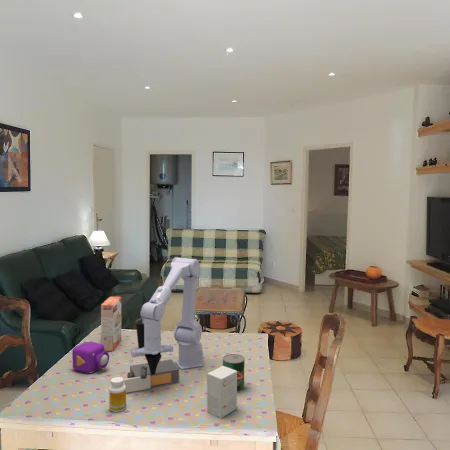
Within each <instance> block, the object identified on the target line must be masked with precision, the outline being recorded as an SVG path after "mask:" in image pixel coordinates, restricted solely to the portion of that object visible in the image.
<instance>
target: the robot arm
mask: <svg viewBox="0 0 450 450" xmlns="http://www.w3.org/2000/svg"><path fill="white" fill-rule="evenodd" d="M200 267H201V264H200V262H199V260H198V259H197V258H188V257H187V258H185V257H178V256H175V257H174V258H173V259H172V261H171V263H170V270H169V271H170V272H169V273H168V274H167V277H166V279H165V281H164V282H163V284H162V285H161V286H158V287H157V288H156V290H155V292H154V293H153V295H152V296H151V297H150V300H149V301H148V302H145V303H144V304H143V305H142V306H141V309H140V312H139V313H140V316H141V318H142V319H143V323H144V347H143V348H140V349H138V348H137V349H133V350H131V358H133V359H134V358H136V357H141V356H144V357H145V360H146V363H148V365H149V369H150V373H151V375H154V374H155V372H156V368H157V365H158V363H159V361H161V359H162V353H163V354H164V353H169V352H170V353H173V352H174V346H173V344H165V345H164V344H161V343H162V341H161V339H162V337H161V336H162V335H161V333H162V332H161V330H162V328H161V322H162V319H163V317H164V315H165V310H166V305H167V304H168V302H169V300H170V299H171V297H172V294H173V293H172V290H173V288H174V287H175V286H176V285H177V284H178V282H179V280H180V279H182V280H183V289H182V290H183V292H182V293H183V294H182V309H181V310H182V311H181V319H180V320H179V321H177V322H176V323H175V329H174V331H173V338H174V340H175V341H176V343H177V344H178V360H175V361H174V363H175V364H176V366H177V367H178V368H180V369H179V370H185V369H192V368H197V367H199V368H200V367H204V364H203V362H204V361H203V360H204V359H203V358H204V354H203V353H204V350H203V345H202V342H201V339H202V332H201V324H200V323H199V322H198V321H197V320H196V319H195V316H196V313H195V312H196V301H197V300H196V299H197V282H198V279H199V278H200V271H201V270H200V269H201V268H200Z"/></svg>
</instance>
